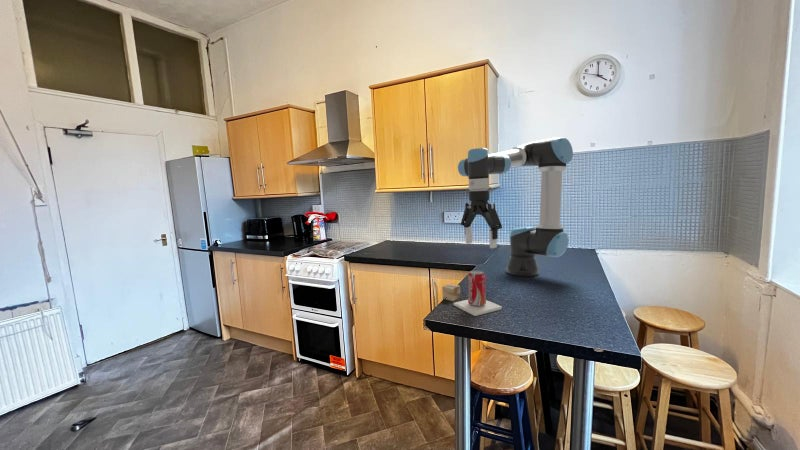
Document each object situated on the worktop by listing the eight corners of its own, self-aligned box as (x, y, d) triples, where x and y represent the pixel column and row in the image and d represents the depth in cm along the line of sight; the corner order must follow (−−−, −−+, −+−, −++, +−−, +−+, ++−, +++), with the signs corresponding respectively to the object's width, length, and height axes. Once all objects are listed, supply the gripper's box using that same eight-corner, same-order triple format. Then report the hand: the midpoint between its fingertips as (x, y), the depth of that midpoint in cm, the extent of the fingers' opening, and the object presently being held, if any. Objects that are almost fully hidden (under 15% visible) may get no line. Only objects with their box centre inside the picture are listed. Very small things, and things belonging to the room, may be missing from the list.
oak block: (449, 295, 129) (449, 283, 128) (460, 298, 125) (460, 285, 125) (442, 298, 125) (442, 286, 125) (453, 301, 122) (452, 288, 121)
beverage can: (464, 303, 116) (464, 271, 115) (479, 300, 118) (478, 269, 117) (474, 308, 110) (474, 275, 109) (489, 305, 112) (489, 272, 111)
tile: (479, 299, 122) (479, 297, 122) (501, 309, 112) (501, 306, 111) (453, 305, 117) (453, 302, 117) (474, 316, 106) (474, 313, 106)
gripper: (450, 191, 129) (453, 242, 131) (495, 190, 107) (497, 251, 109) (465, 190, 132) (467, 240, 135) (511, 188, 110) (512, 248, 113)
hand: (480, 245), depth 122 cm, fingers open, 13 cm apart
